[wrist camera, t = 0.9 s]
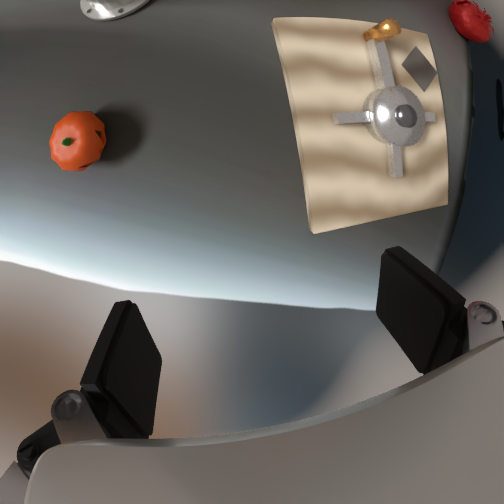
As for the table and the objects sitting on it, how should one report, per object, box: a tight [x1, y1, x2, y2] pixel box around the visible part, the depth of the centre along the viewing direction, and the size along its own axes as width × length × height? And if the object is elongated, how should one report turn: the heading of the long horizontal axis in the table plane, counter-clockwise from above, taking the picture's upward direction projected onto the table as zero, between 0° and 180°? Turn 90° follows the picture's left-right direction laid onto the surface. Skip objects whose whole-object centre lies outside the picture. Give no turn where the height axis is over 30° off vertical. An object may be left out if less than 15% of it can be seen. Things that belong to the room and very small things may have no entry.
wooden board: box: [271, 17, 448, 234], centre depth 32 cm, size 30×26×2 cm
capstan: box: [332, 18, 436, 177], centre depth 27 cm, size 22×17×6 cm
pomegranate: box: [449, 0, 494, 43], centre depth 20 cm, size 10×10×9 cm
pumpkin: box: [49, 111, 106, 171], centre depth 26 cm, size 8×8×7 cm
